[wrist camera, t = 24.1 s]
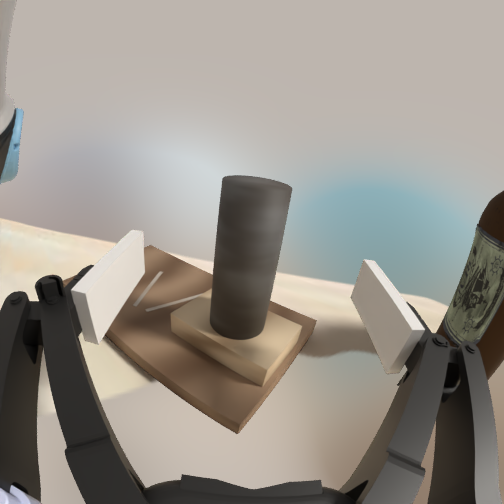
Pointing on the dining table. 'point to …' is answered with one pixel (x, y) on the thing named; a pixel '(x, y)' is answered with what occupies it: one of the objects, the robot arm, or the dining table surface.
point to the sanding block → (243, 283)
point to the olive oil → (481, 292)
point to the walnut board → (181, 352)
